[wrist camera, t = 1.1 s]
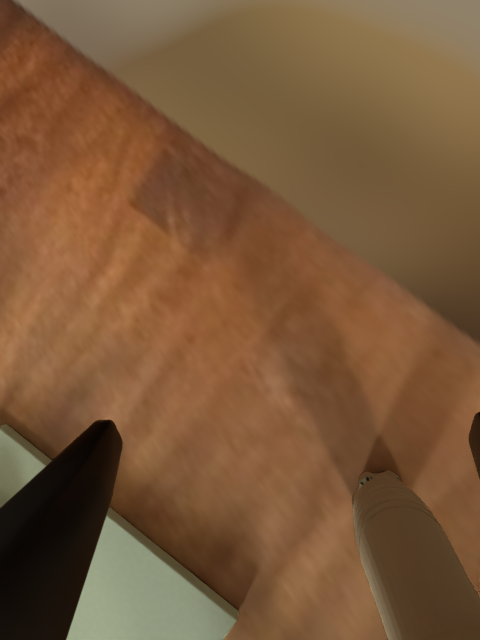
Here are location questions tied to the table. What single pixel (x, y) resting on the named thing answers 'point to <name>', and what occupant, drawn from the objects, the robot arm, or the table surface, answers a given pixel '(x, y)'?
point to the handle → (411, 564)
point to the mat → (125, 574)
